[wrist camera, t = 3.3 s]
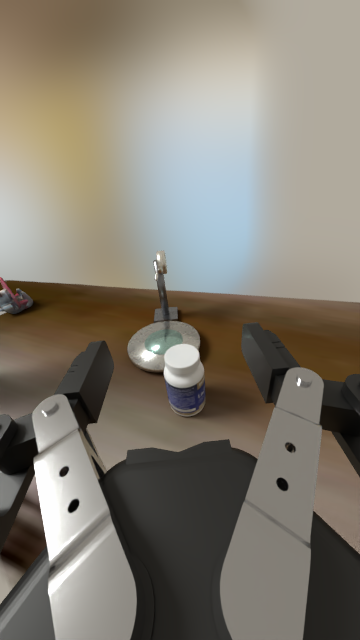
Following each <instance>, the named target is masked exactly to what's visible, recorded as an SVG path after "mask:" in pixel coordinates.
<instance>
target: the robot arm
mask: <svg viewBox="0 0 360 640" xmlns="http://www.w3.org/2000/svg"><path fill="white" fill-rule="evenodd" d="M242 352H243V355H244V358H245V360H246V362H247V364H248V366H249V368H250V371H251V373H252V375H253V377H254V379H255V381H256V383H257V386H258V388H259V390H260V392H261V394H262V396H263V398H264V401H265V403H274V404H275V408H274V410H273V414H272V417H271V420H270V423H269V426H268V429H267V432H266V435H265V438H264V442H263V445H262V448H261V451H260V454H259V457H258V459H257V458H255V457H254V456H252V455H251V454H249V453H247V452H245V451H242V450H239V449H236V448H231V445H230V441H229V439H228V440H219V441H209V442H203V443H201V444H198V445H196V446H193V447H191V448H188V449H186V450H183V451H181V452H173V451H168V450H163V449H157V448H144V449H135V450H128V451H127V458H126V459H125V460H123V461H121V462H120V463H118V464H116V465H115V466H113V467H112V468H111V469H110V470H108V471H107V470H106V468H105V467H104V465H103V463H102V461H101V459H100V456H99V454H98V452H97V450H96V447H95V445H94V443H93V441H92V438H91V436H90V434H89V432H88V430H87V429H86V428H87V425H88V424H90V423H97V420H98V417H99V414H100V411H101V408H102V405H103V401H104V398H105V395H106V392H107V389H108V386H109V383H110V379H111V376H112V373H113V369H114V363H113V359H112V357H111V354H110V351H109V349H108V346H107V344H106V342H105V341H97V342H91V343H89V345H88V347H87V349H86V351H85V352H81V353H80V354H79V355H78V356H77V357H76V358H75V359H74V361H73V363H72V364H71V367H70V368H69V370H68V371H67V374H66V375H65V377H64V378H63V380H62V382H61V383H60V385H59V387H58V389H57V390H56V392H55V394H54V395H53V396H50V397H48V398H47V399H45V400H43V401H42V402H41V403H40V404H39V405H38V406H37V407H36V408H35V410H34V412H33V413H31V414H28V415H26V416H23V417H20V418H18V419H15V420H13V419H12V418H11V417H10V416H9V415H6V414H2V415H0V553H1V550H2V548H3V546H4V543H5V541H6V539H7V536H8V534H9V532H10V530H11V527H12V525H13V523H14V520H15V518H16V516H17V513H18V511H19V509H20V507H21V504H22V502H23V500H24V497H25V495H26V493H27V490H28V488H29V486H30V483H31V481H32V479H33V477H34V474H36V481H37V487H38V493H39V499H40V505H41V511H42V517H43V523H44V529H45V535H46V541H47V546H46V547H45V549H44V550H43V551H42V552H41V554H40V555H39V556H38V557H37V559H36V560H35V561H34V562H33V564H32V565H31V566H30V567H29V569H28V570H27V571H26V573H25V574H24V575H23V576H22V578H21V579H20V580H19V581H18V583H17V584H16V585H15V586H14V588H13V589H12V590H11V591H10V593H9V594H8V595H7V597H6V598H5V599H4V600H3V602H2V603H1V604H0V640H360V554H359V553H358V552H357V551H356V550H355V549H353V548H352V547H351V546H350V545H349V544H348V543H347V542H346V541H345V540H344V539H343V538H342V537H341V536H340V535H339V534H338V533H336V532H335V531H334V530H333V529H332V528H331V527H330V526H329V525H328V524H327V523H326V522H325V521H324V520H323V519H322V518H321V517H320V516H318V515H317V514H316V513H315V512H314V511H313V507H314V498H315V489H316V480H317V471H318V461H319V452H320V443H321V434H322V429H323V430H328V431H331V432H332V434H333V435H334V437H335V438H336V440H337V442H338V443H339V445H340V446H341V448H342V450H343V451H344V453H345V454H346V456H347V458H348V459H349V461H350V462H351V464H352V466H353V467H354V469H355V470H356V472H357V474H358V475H359V477H360V374H353V375H349V376H348V377H347V378H346V380H345V382H337V381H330V380H323V379H321V378H320V376H319V375H317V374H316V373H315V372H313V371H311V370H309V369H305V368H301V367H300V366H299V364H298V363H297V362H296V360H295V359H294V358H293V356H292V355H291V354H290V353H289V351H288V350H287V349H286V348H285V346H284V345H283V343H281V341H280V340H279V338H278V337H277V336H276V335H275V334H274V333H272V332H271V331H269V330H263V329H262V328H261V326H260V325H259V323H257V322H256V323H247V324H243V330H242Z"/></svg>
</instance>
